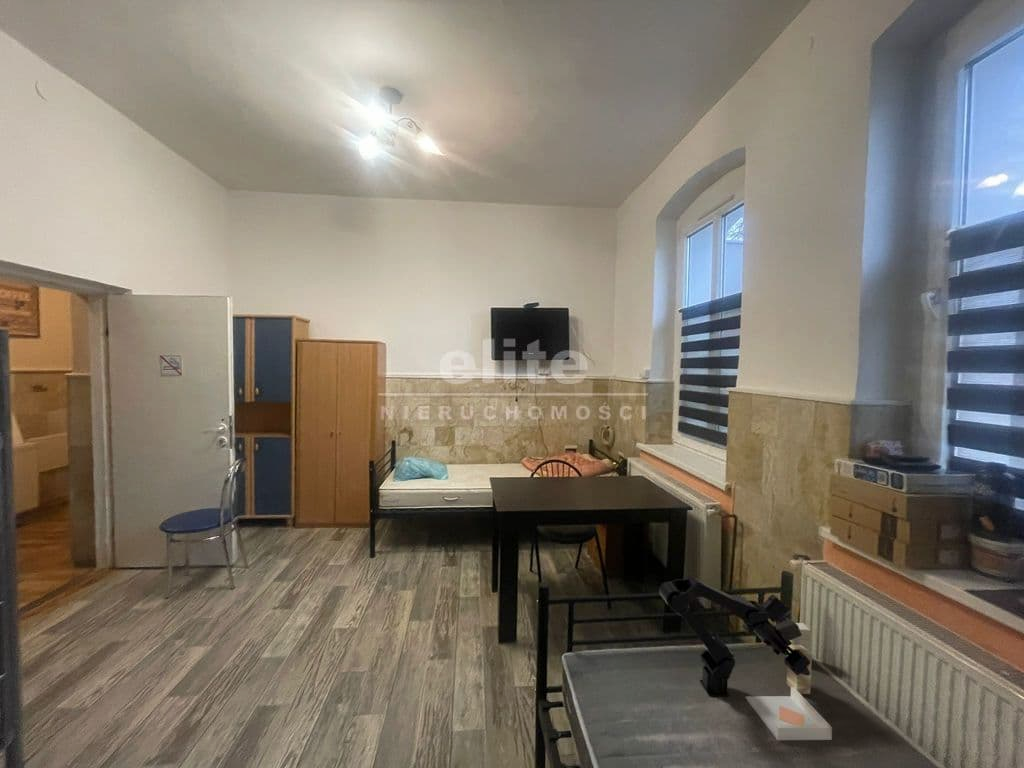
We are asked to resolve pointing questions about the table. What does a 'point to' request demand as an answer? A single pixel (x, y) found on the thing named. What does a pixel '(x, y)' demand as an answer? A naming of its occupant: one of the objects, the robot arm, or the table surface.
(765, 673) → the table surface
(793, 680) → the birch block
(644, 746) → the table surface
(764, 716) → the tray
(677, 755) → the table surface
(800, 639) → the skincare box
